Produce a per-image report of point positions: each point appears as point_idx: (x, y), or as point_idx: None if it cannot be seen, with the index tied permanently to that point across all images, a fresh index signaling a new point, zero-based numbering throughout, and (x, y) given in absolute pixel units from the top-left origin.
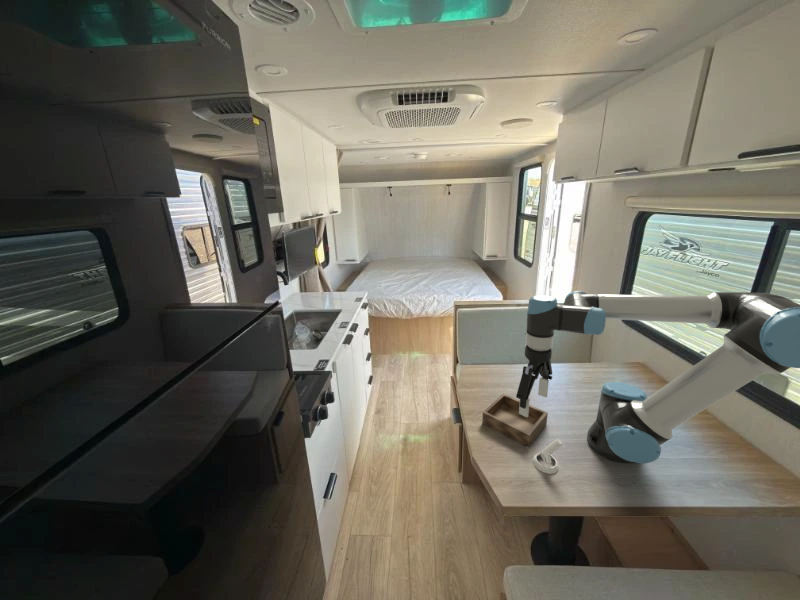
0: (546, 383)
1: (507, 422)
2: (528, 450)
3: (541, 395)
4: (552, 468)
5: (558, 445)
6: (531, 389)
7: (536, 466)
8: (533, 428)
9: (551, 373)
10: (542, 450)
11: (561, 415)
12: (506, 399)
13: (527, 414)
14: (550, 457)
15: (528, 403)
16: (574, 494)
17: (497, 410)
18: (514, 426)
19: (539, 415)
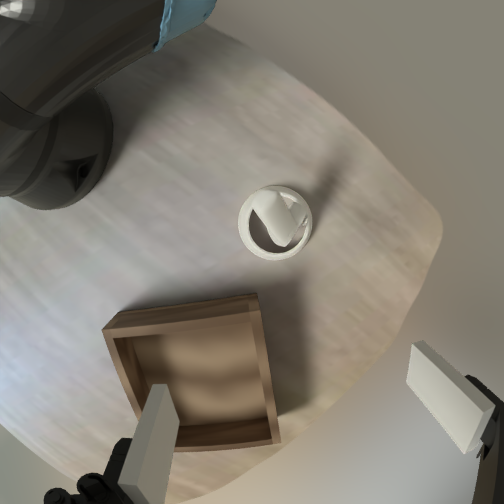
0: (145, 468)
1: (262, 386)
2: (268, 285)
3: (174, 408)
4: (291, 194)
5: (280, 196)
6: (498, 464)
7: (310, 233)
8: (215, 321)
9: (60, 502)
10: (286, 243)
11: (56, 298)
12: None
13: (432, 349)
14: (292, 209)
15: (474, 389)
16: (311, 120)
17: (202, 424)
18: (260, 363)
19: (123, 342)
